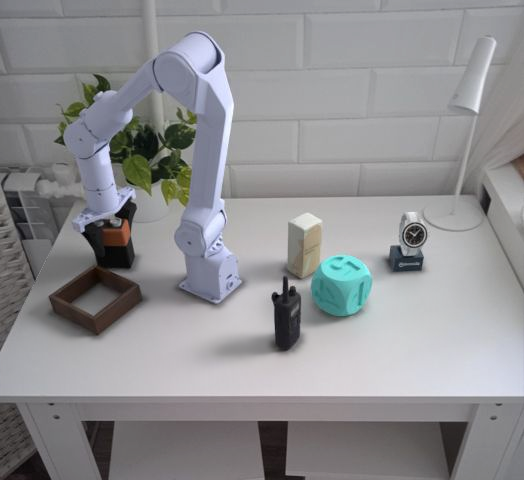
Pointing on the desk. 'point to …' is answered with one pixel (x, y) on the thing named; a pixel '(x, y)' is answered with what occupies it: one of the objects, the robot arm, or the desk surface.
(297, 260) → the box
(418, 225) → the watch
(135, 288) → the brown square open frame
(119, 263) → the battery
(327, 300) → the decorative dice
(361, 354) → the desk surface
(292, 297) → the two-way radio
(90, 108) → the robot arm
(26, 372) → the desk surface
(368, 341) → the desk surface
